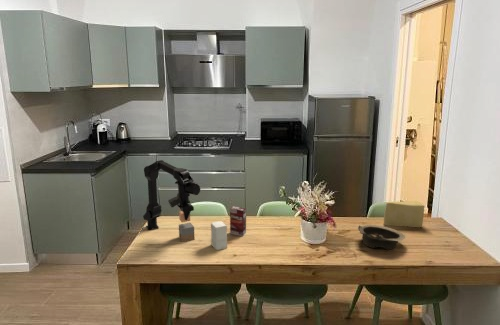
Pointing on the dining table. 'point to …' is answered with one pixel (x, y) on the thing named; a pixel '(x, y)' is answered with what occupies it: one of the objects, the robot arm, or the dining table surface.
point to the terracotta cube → (181, 217)
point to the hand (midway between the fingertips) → (184, 218)
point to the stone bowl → (380, 236)
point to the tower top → (186, 229)
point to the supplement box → (238, 221)
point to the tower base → (186, 237)
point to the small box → (219, 235)
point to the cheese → (404, 213)
